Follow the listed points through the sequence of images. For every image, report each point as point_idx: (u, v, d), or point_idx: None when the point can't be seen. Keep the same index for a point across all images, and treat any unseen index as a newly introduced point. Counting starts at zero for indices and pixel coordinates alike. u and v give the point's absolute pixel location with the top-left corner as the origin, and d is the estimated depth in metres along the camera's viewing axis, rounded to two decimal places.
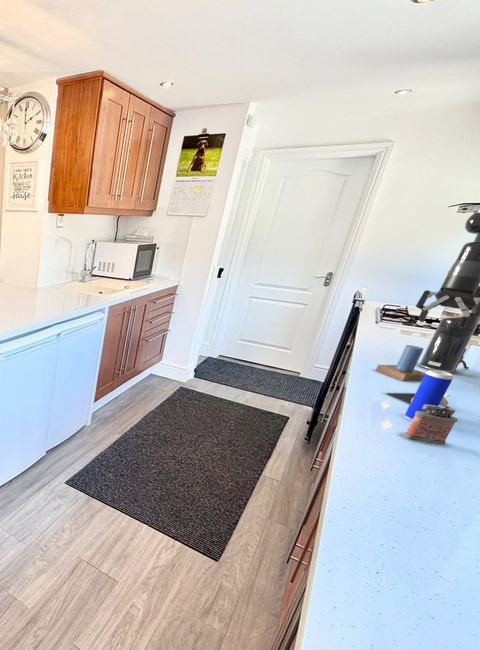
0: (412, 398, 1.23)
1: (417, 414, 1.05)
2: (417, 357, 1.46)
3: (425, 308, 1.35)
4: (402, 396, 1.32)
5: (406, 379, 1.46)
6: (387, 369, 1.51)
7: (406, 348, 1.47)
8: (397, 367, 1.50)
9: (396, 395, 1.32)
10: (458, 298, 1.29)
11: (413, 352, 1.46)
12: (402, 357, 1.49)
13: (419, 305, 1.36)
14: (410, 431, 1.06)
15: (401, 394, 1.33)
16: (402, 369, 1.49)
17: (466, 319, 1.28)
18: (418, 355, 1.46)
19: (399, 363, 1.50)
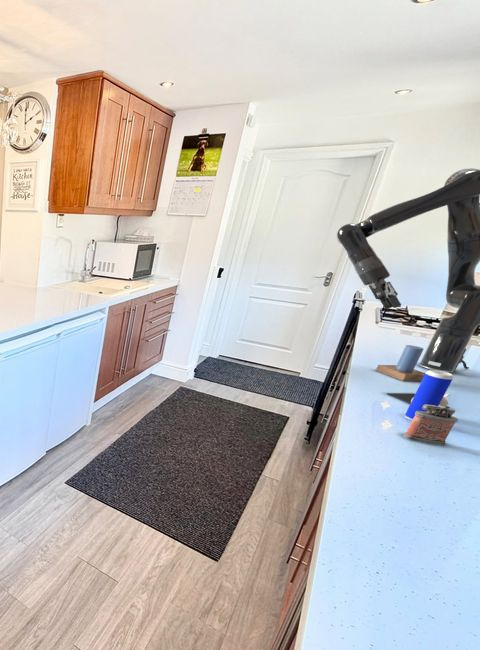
0: (412, 398, 1.23)
1: (417, 414, 1.05)
2: (417, 357, 1.46)
3: None
4: (402, 396, 1.32)
5: (406, 379, 1.46)
6: (387, 369, 1.51)
7: (406, 348, 1.47)
8: (397, 367, 1.50)
9: (396, 395, 1.32)
10: None
11: (413, 352, 1.46)
12: (402, 357, 1.49)
13: (388, 296, 1.56)
14: (410, 431, 1.06)
15: (401, 394, 1.33)
16: (402, 369, 1.49)
17: (382, 301, 1.49)
18: (418, 355, 1.46)
19: (399, 363, 1.50)
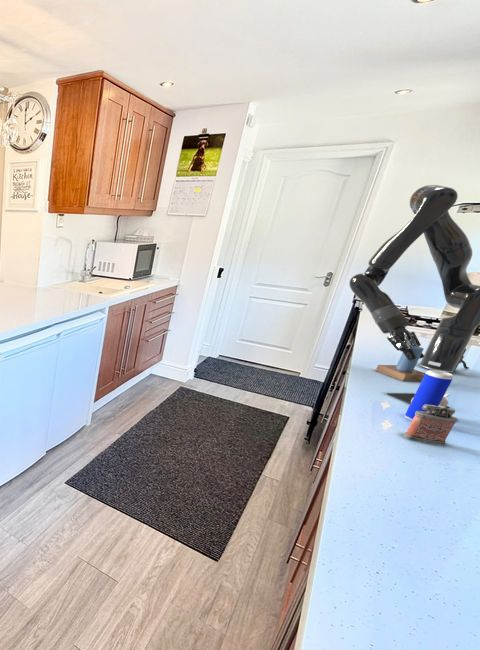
0: (412, 398, 1.23)
1: (417, 414, 1.05)
2: (417, 357, 1.46)
3: None
4: (402, 396, 1.32)
5: (406, 379, 1.46)
6: (387, 369, 1.51)
7: None
8: (397, 367, 1.50)
9: (396, 395, 1.32)
10: None
11: (413, 352, 1.46)
12: (402, 357, 1.49)
13: None
14: (410, 431, 1.06)
15: (401, 394, 1.33)
16: (402, 369, 1.49)
17: None
18: (418, 355, 1.46)
19: (399, 363, 1.50)
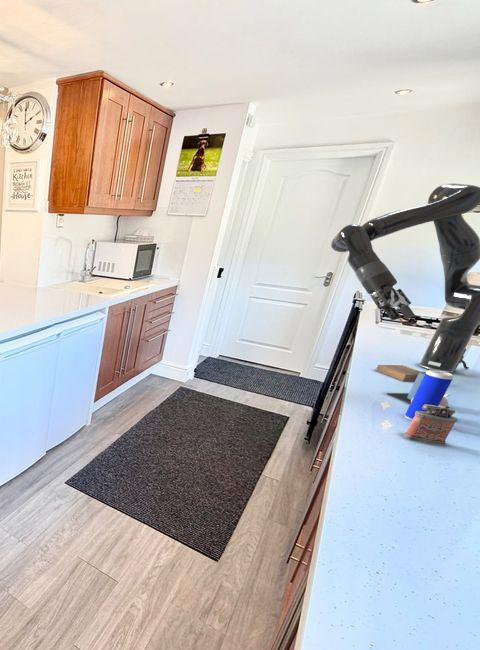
0: (412, 398, 1.23)
1: (417, 414, 1.05)
2: None
3: None
4: (402, 396, 1.32)
5: (406, 379, 1.46)
6: (387, 369, 1.51)
7: (420, 375, 1.27)
8: (409, 397, 1.30)
9: (396, 395, 1.32)
10: None
11: None
12: (415, 385, 1.28)
13: None
14: (410, 431, 1.06)
15: (401, 394, 1.33)
16: None
17: None
18: None
19: (411, 392, 1.29)
